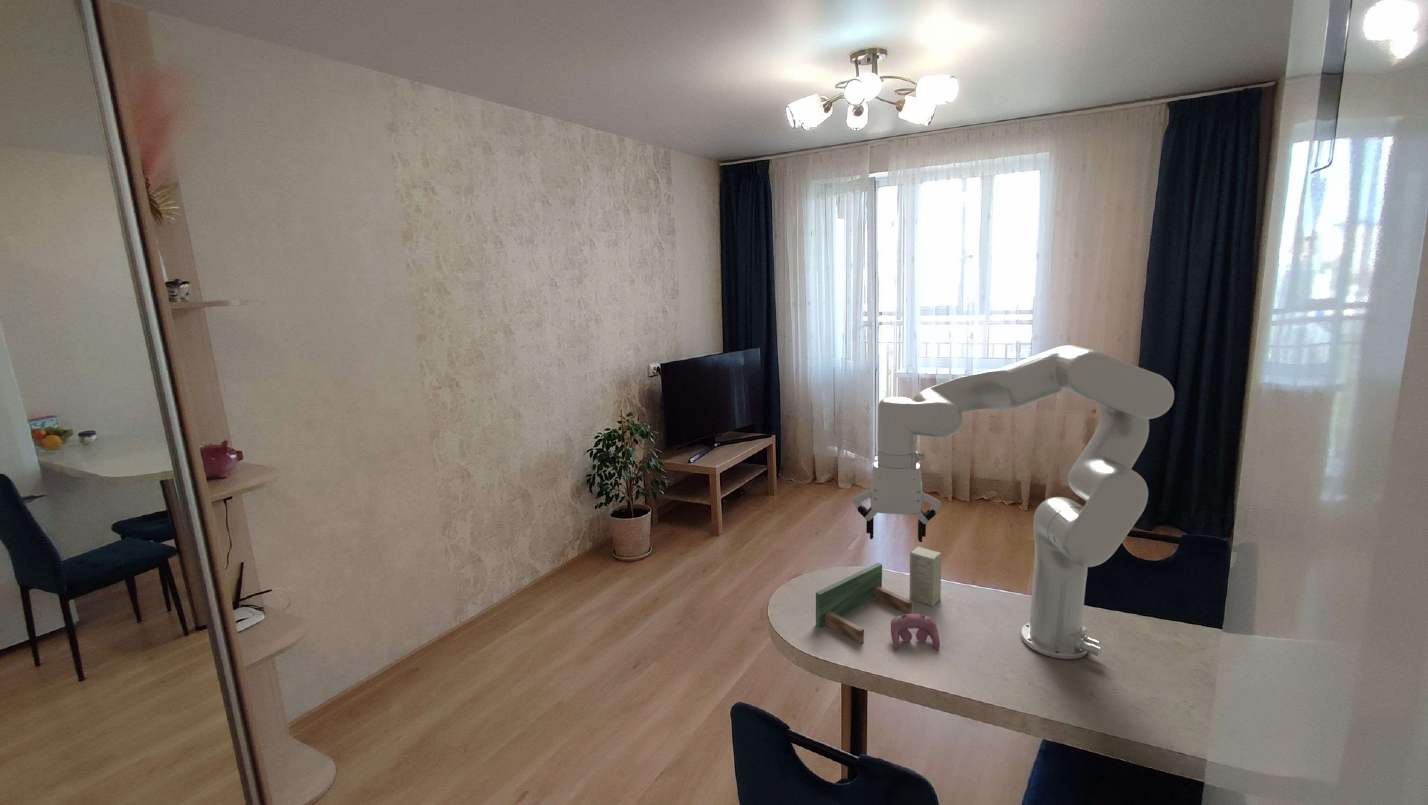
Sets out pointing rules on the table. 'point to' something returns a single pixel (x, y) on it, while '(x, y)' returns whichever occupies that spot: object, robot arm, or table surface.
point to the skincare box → (925, 575)
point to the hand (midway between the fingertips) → (895, 537)
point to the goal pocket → (855, 600)
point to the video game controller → (914, 621)
